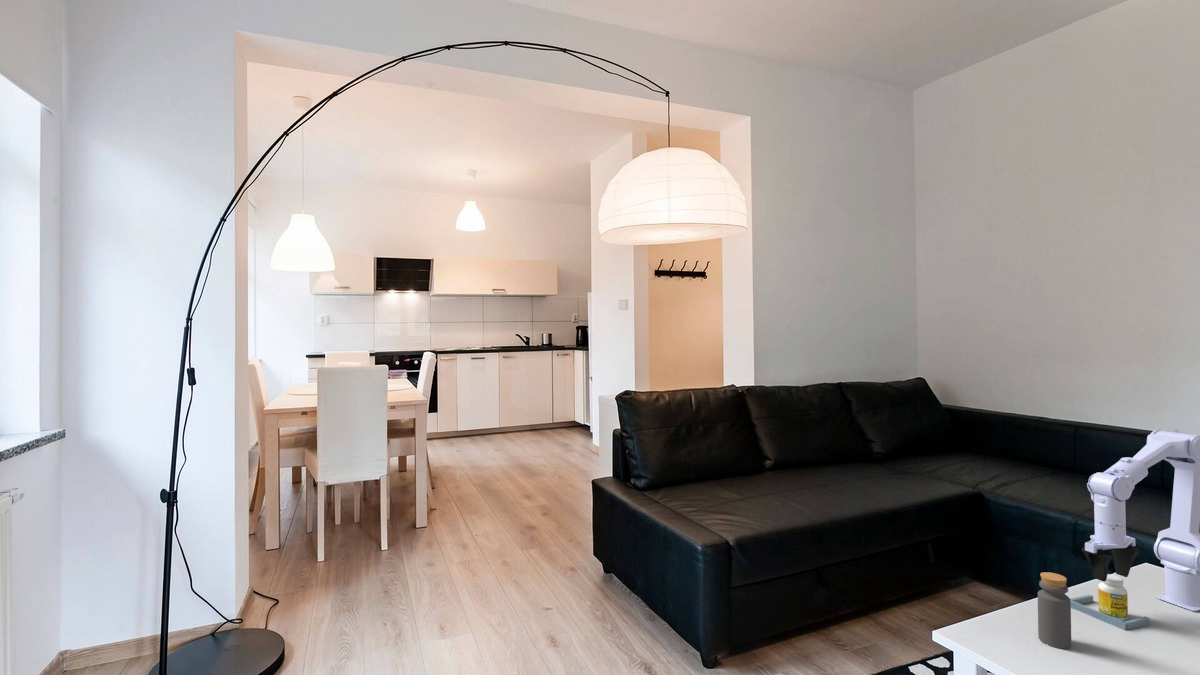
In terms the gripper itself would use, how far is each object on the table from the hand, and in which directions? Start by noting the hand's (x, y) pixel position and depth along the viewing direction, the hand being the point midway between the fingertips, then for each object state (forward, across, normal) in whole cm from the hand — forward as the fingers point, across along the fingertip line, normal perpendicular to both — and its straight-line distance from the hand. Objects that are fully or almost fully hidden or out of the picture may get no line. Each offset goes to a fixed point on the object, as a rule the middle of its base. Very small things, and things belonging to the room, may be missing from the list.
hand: (1111, 577), depth 137 cm
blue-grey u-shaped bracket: (+10, 0, -1) cm, 10 cm away
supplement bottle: (+10, 0, 0) cm, 10 cm away
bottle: (+10, +25, +4) cm, 27 cm away
